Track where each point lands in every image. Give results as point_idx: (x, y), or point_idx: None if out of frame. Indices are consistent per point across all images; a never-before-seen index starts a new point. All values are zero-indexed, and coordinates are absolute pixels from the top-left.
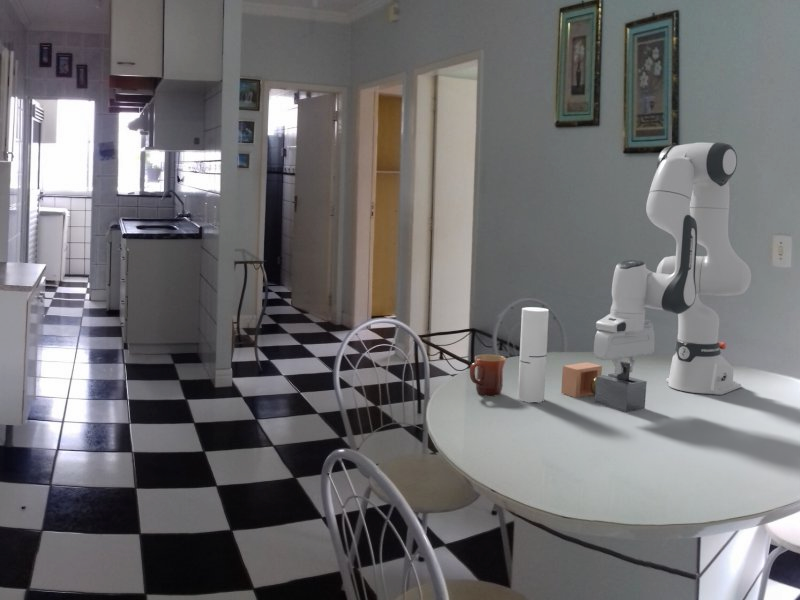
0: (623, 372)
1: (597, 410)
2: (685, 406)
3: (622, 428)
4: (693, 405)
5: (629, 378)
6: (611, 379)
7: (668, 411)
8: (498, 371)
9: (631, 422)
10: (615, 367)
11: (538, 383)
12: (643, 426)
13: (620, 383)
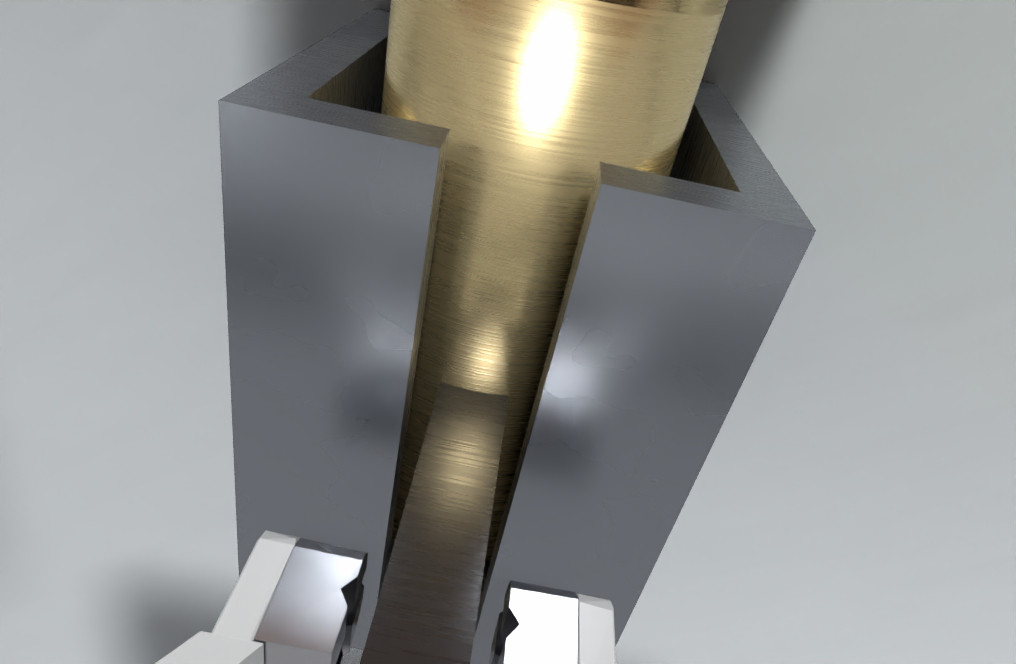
0: (350, 635)
1: (153, 207)
2: (901, 606)
3: (10, 524)
4: (975, 630)
5: (569, 542)
6: (267, 410)
7: (653, 575)
8: None
9: (168, 514)
10: (220, 624)
11: None
12: (175, 581)
13: (244, 539)
